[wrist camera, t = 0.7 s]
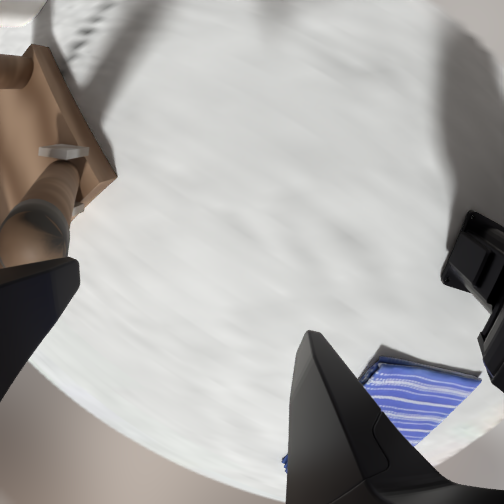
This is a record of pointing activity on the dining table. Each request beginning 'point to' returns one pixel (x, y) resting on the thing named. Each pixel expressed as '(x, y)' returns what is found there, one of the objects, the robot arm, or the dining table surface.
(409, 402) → the dish towel
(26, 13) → the foam cup
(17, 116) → the stool
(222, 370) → the dining table surface
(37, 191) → the hinged leg
